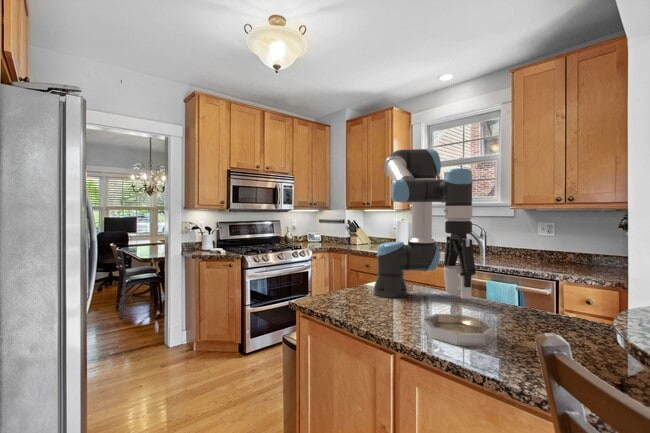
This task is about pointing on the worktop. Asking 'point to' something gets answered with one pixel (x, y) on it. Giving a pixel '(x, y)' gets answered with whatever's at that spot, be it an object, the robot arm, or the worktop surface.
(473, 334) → the octagonal tray
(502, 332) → the worktop surface
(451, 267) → the cup
